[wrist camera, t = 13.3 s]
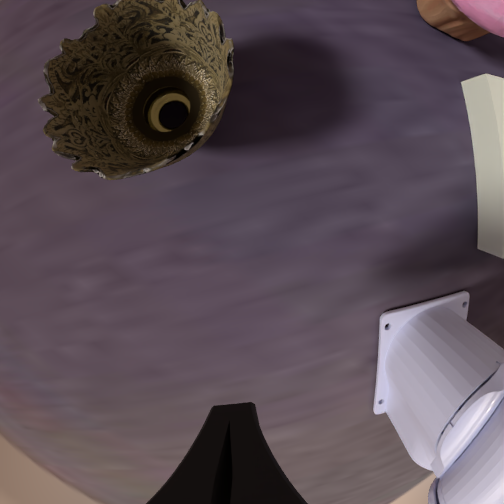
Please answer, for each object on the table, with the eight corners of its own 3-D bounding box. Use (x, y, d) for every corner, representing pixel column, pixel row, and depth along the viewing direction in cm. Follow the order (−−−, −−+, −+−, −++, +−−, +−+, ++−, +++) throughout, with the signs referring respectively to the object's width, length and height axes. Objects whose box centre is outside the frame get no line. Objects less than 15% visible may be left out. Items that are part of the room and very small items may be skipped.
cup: (191, 37, 15) (161, -40, 7) (264, 125, 16) (281, 82, 8) (94, 112, 15) (14, 83, 8) (159, 203, 17) (97, 223, 9)
